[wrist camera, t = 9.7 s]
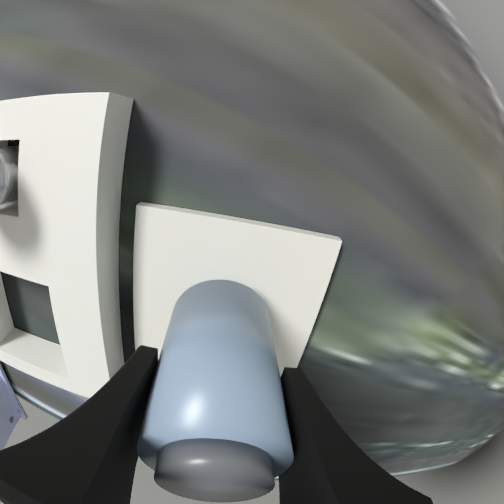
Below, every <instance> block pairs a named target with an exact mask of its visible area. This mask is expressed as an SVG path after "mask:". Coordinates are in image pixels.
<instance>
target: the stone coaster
mask: <svg viewBox="0 0 504 504" xmlns="http://www.w3.org/2000/svg"><path fill="white" fill-rule="evenodd" d="M341 244H342V240H341V239H340V238H339V237H337V236H333V235H328V234H323V233H318V232H313V231H308V230H302V229H297V228H292V227H287V226H282V225H276V224H271V223H265V222H260V221H254V220H249V219H243V218H238V217H232V216H226V215H220V214H215V213H209V212H203V211H197V210H190V209H184V208H178V207H172V206H165V205H159V204H152V203H146V202H140V203H139V204H137V205H136V217H135V233H134V258H133V314H134V339H135V351H136V349H137V348H138V347H139V346H141V345H144V346H148V347H153V348H157V349H158V360H159V356H160V353H161V349H162V346H163V342H164V339H165V335H166V332H167V329H168V325H169V322H170V319H171V316H172V312H173V309H174V306H175V304H176V302H177V300H178V298H179V297H180V296H181V295H182V294H183V293H184V292H185V291H186V290H187V289H189V288H190V287H192V286H193V285H196V284H198V283H201V282H204V281H209V280H218V279H219V280H230V281H234V282H238V283H241V284H243V285H245V286H247V287H249V288H251V289H252V290H254V291H255V292H256V293H257V294H258V295H259V296H260V297H261V298H262V299H263V301H264V302H265V304H266V306H267V308H268V311H269V316H270V321H271V327H272V333H273V338H274V344H275V350H276V355H277V361H278V367H279V373H280V377H281V375H282V372H283V370H284V367H291V368H297V366H298V364H299V361H300V359H301V356H302V354H303V351H304V349H305V346H306V344H307V341H308V339H309V336H310V333H311V331H312V328H313V326H314V323H315V320H316V318H317V315H318V312H319V309H320V307H321V304H322V301H323V298H324V295H325V292H326V290H327V287H328V284H329V281H330V278H331V275H332V272H333V269H334V266H335V263H336V260H337V257H338V253H339V250H340V247H341Z"/></svg>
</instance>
